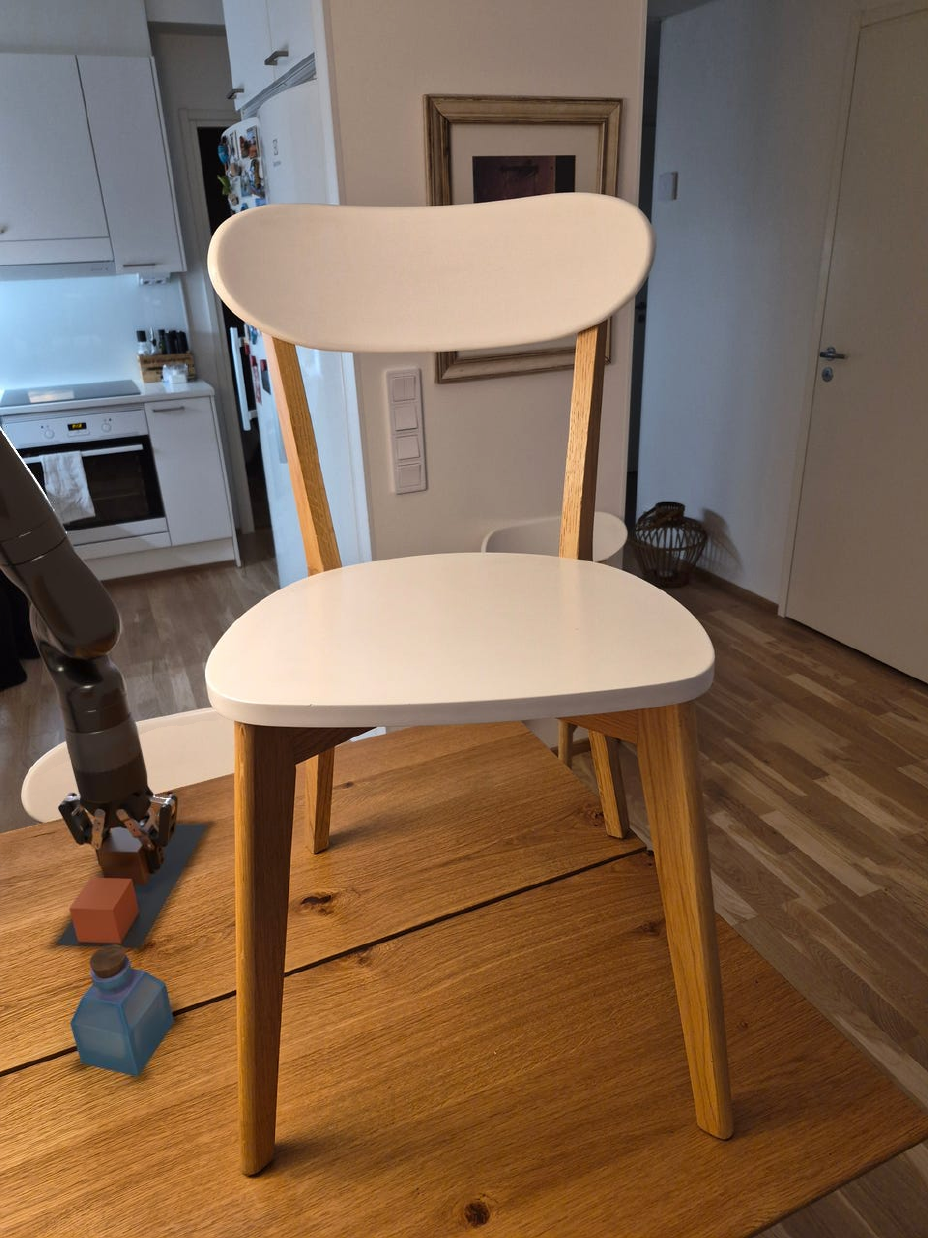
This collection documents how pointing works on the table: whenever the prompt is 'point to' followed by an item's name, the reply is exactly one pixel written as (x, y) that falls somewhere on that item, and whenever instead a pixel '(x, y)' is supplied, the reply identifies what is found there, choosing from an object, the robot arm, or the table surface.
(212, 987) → the table surface
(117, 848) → the walnut block
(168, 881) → the mat
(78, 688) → the robot arm
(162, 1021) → the perfume bottle
